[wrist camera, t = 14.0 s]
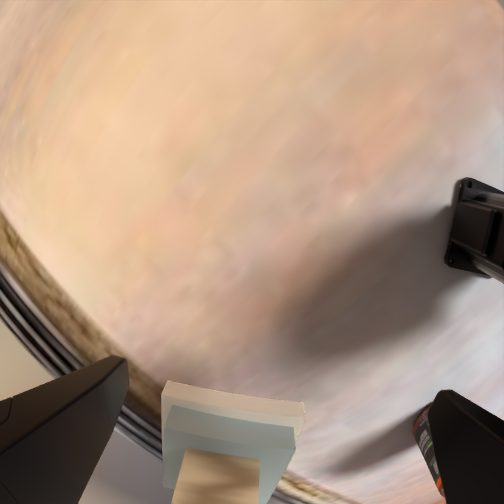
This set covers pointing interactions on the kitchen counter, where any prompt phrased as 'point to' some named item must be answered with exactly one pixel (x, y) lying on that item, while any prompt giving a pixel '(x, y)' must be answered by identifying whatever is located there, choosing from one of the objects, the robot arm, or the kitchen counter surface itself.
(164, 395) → the bottom block
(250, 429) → the top block
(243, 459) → the maple cube
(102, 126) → the kitchen counter surface
